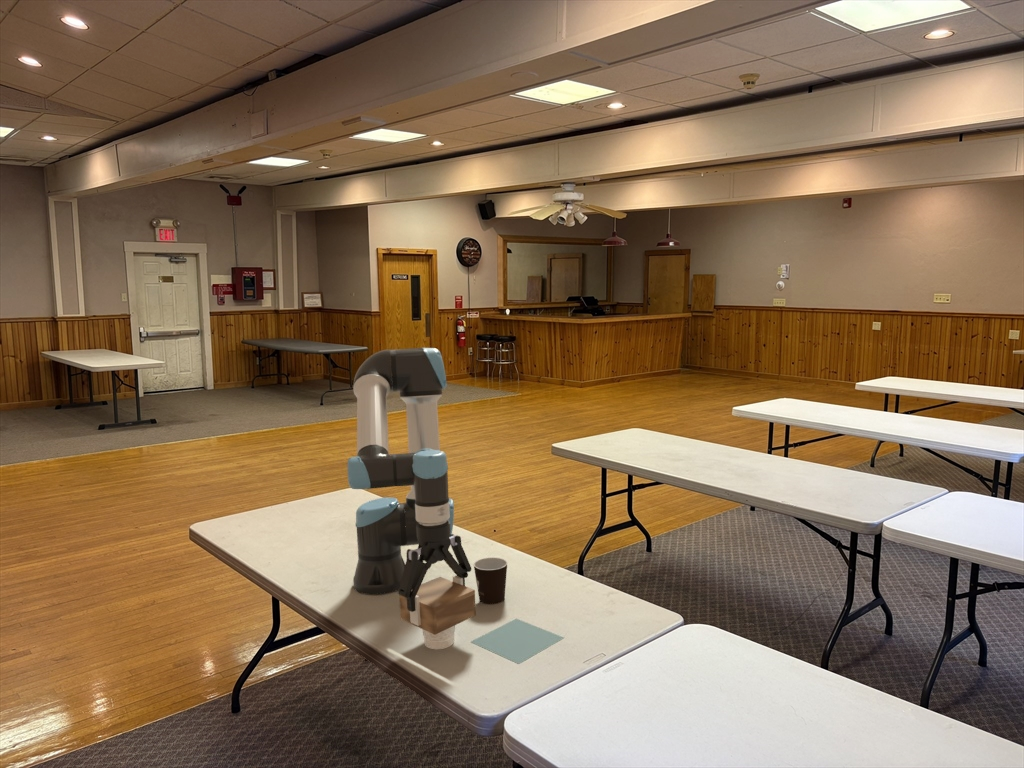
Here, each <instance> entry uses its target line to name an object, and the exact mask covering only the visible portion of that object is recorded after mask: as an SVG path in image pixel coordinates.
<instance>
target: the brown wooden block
mask: <svg viewBox="0 0 1024 768" xmlns="http://www.w3.org/2000/svg"><path fill="white" fill-rule="evenodd" d="M416 595H417V596H419V600H420V620H421V625H419V626H417V625H415V624H413V623H411V622H410V611H409V610H408V609H407V598H406V597H403V596H401V595H399V594H398V597H399V612H400V615H399V617H400V619H401V620H402V621H405V622H407V623H409V624H411V625H413V626H415V627H418V628H419V629H421V630H422V629H424V630H426V631H428V632H430V633H432V634H434V635H436V634H438V633H440V632H442V631H444V630H446V629H448V628H450V627H452V626H455V627H456V626H457V625H458V624H460V623H463V622H464V621H467V620H470V619H471V618H474V617H476V616H477V614H476V612H477V609H476V590H475V589H473V588H472V587H468V586H466V585H465V586H463V585H460V584H458V583H455V582H453V580H450V579H447V578H444V577H442V576H439V577H436V578H434V579H431V580H428V581H426V582H424V583H423V582H422V583H421V586H420V588H419V590H418V592H417V594H416Z"/></svg>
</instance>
